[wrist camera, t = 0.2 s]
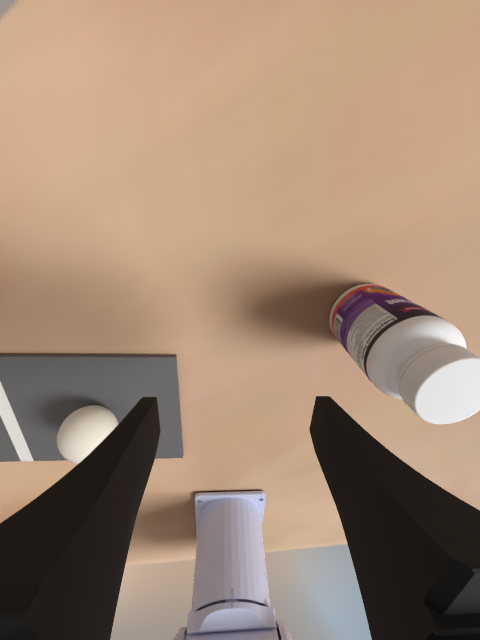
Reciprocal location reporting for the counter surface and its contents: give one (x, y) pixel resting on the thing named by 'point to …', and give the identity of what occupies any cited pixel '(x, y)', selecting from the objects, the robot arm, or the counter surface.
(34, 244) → the counter surface
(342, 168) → the counter surface
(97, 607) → the robot arm
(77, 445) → the ball
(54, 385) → the lane
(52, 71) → the counter surface
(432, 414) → the pill bottle
